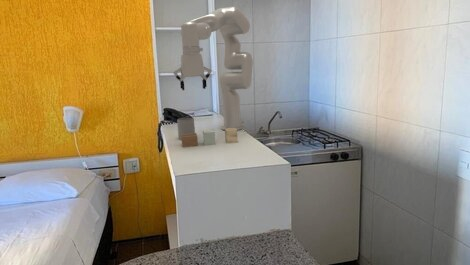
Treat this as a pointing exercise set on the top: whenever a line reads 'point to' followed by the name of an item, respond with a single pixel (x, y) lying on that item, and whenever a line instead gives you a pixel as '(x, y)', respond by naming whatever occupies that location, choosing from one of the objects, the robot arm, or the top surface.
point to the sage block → (209, 137)
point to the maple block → (231, 135)
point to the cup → (185, 126)
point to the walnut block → (189, 140)
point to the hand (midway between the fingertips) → (193, 89)
